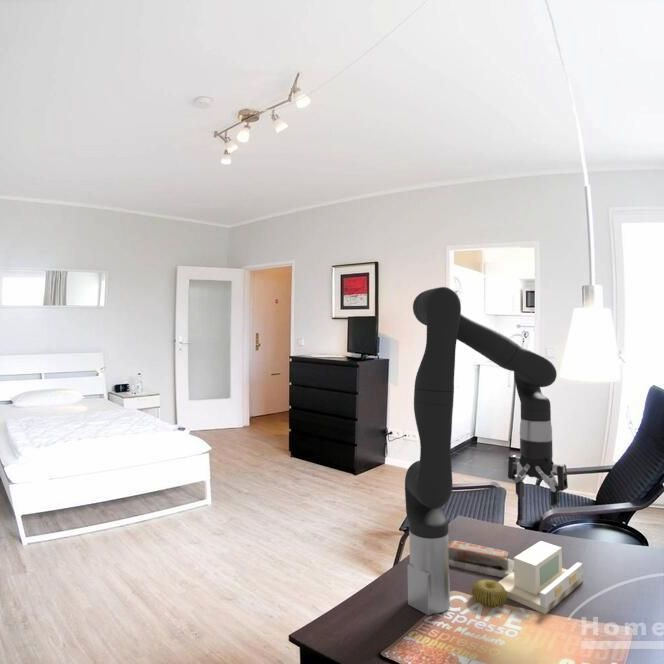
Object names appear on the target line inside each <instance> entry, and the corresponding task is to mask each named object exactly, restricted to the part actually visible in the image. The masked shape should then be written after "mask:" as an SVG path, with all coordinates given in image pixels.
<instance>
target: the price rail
mask: <svg viewBox="0 0 664 664" xmlns="http://www.w3.org/2000/svg"><path fill="white" fill-rule="evenodd" d="M583 566H584V564H583V563H582V562H579V561H577V562H576V563H574V564H573V565H572V566H570V568H568V569H566V570H567V571H566V572H565V573H563V574H562V575H561V576H560V577H558V578H557V579H556V580H555V581H553V582H552V583H551V584H550V585H548V586H547V587H546V588H545V589H543V590H542V591H541V592H540V606H543V607H545V608H546V607H547V606H548V605H549V604H550V603H551V602H553V601H554V600H555V599H556V598H557V597H558V596H560V595H561V594H562V593H563V592H564V591H565V590H567V589H568V588H569V587H570V586H571V585H572V584H574V583H575V582H576V581H577V580H578V579H579V578H581V577H582V576H583V577H584V567H583Z"/></svg>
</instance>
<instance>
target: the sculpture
mask: <svg viewBox="0 0 664 664" xmlns="http://www.w3.org/2000/svg"><path fill="white" fill-rule="evenodd" d="M498 582H499V581H496V580H493V579H486V578H482V579H479V580H477V581H475V582H474V584H472V587H471V595H472V597H473V598H474V601H476V602H477V604H479V605H481V606H483V607H487V608H494V609H495V608H499V607H502V606H503V605H505V603H506V601H507V599H508V598H507V593H506V591H505V588H504V587H503V586H502V585H501V584H499V583H498Z"/></svg>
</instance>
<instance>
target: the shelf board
mask: <svg viewBox="0 0 664 664" xmlns="http://www.w3.org/2000/svg"><path fill="white" fill-rule="evenodd" d="M567 570H568V569H566V568H563V567H562V574H563V573H565V572H566V571H567ZM497 582H498V583H499V584H501V585H502V586H503V587H504V588H505V591H506V593H507V599H509V600H512V601H514V602H517V603H519V604H522V605H524V606H526V607H528V608H530V609H533V610H535V611H537V612H538V613H542V614H543V615H547V614H548V613H549V612H550V611H551V610H552V609H553V608H555V607H556V606H557V605H558V604H559V603H560V602H561V601H563V599H565V598H566V597H567V596H568V595H570V593H572V591H573V592H574V590H575V589H576V588H577V587H579V585H581V584H582V583H583V582H584V575H583V576H582V577H581V578H579V579H578V580H577V581H576V582H575V583H574V584H572V585H571V586H570V587H569V588H568V589H567V590H565V591H564V592H563V593H562V594H561V595H560V596H558V597H557V598H556V599H555V600H554V601H553V602H551V603H550V604H549V605H548V606H547V607H546V608H545V607H543V606H540V593H538V594H537V595H535V594H532V593H530V592H528V591H525V590H523V589H520V588H518V587H516V586H514V571H513V572H512V573H510V574H509V575H508V576H506V577H505V578H502V579H500V580H499V581H497Z"/></svg>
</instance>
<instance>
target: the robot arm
mask: <svg viewBox="0 0 664 664" xmlns="http://www.w3.org/2000/svg"><path fill="white" fill-rule="evenodd" d="M412 304H413V305H412V310H413V315H414V316H415V318H416V320H417V321H418V323H421V324H422V325H424V326H426V343H425V349H424V352H423V355H422V359H421V361H420V364H419V366H418V370H417V372H416V374H415V375H416V376H415V379H414V391H413V412H414V417H415V418H414V420H415V424H416V428H417V433H418V438H419V446H420V447H419V448H420V449H419V450H420V453H419V455H420V456H419V460H417V461H414V462H413V463H412V464H411V465H410V466H409V467H408V469H407V471H406V473H405V479H404V495H405V498H404V500H405V512H406V517H407V522H408V530H409V531H408V535H409V536H408V537H409V563H408V564H407V566H406V567H407V568H406V569H407V570H406V571H407V572H406V573H407V604H408V606H410V607H412V608H414V609H416V610H417V611H420V612H421V613H423V614H425V615H426V616H430V615H433V614H440V613H441V614H442V613H445V612H446V611H447V610H448V609H449V608H450V607H451V602H450V601H451V596H450V595H451V593H450V591H451V589H450V566H449V544H450V542H449V538H450V537H449V520H448V518H447V516H446V514H445V511H444V506H445V505H446V504H447V503H448V502H449V500H450V497H451V495H452V492H453V470H452V468H453V466H452V452H451V451H452V433H453V411H454V394H455V373H456V372H455V369H456V368H455V367H456V349H457V341H459V342H461V343H462V344H464V345H466V346H468V347H469V348H471V349H473V350H474V351H475V352H477V353H479V354H481V355H482V356H483V357H485V358H486V359H488V360H490V361H491V362H493V363H494V364H496V365H497V366H499V367H500V368H502V369H504V370H507V371H511V372H513V376H514V377H513V378H514V382H515V388H516V391H517V395H518V398H519V401H520V423H519V424H520V425H519V452H520V456H517V454H512V455H510V456H508V465H507V467H508V468H507V478H508V479H509V480H512V481H514V483H515V495H517V498H519V499H522V498H524V496H525V482H524V480H525V479H526V478H527V477H529V478H535V479H537V480H543V482H544V483H545V484H547V487H549V489H550V490H551V491H550V506H551V507H553V508H555V507H556V506H558V505H559V504H560V502H561V501H560V499H561V498H560V493H561V492H563V491H565V490H568V487H569V486H568V473H567V465H566V464H564V463H562V464H555V463H554V461H553V454H554V453H553V426H552V417H551V415H552V414H551V413H552V412H551V401H550V399H549V398H548V397H547V396H545V395H544V394H543V393H542V390H541V388H546V387H549V386H551V385H553V384H554V383H555V381H556V379H557V373H558V372H557V370H556V367H555V366H554V364H553V363H552V362H551V361H550V360H549V359H547V358H545V356H542V355H540V354H538V353H536V352H533V351H532V350H530V349H527V348H525V347H523V346H521V345H519V344H518V343H517V342H515V341H514V340H512V339H511V338H510V337H507V335H504V334H502V333H501V332H500V331H497V330H496V329H493V328H491V327H489V326H486V325H484V324H481V323H479V322H477V321H474V320H473V319H471V318H469V317H467V316H466V315H464V314H462V313H461V312H462V305H461V299H460V297H459V295H458V294H457V292H456V291H455V290H454V289H452V288H451V287H448V286H440V287H439V286H438V287H434V288H430V289H427V290H425V291H424V290H423V291H422V292H420V293H419V294H418V295H417V296H416V297H415V298H414V300H413V302H412ZM519 464H520V466H521V467H522V469H521V470H520V471H519V473H518V465H519ZM553 470H554V471H555V474H557V480H556V477H555V475H554V474H553V472H552V471H553Z"/></svg>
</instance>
